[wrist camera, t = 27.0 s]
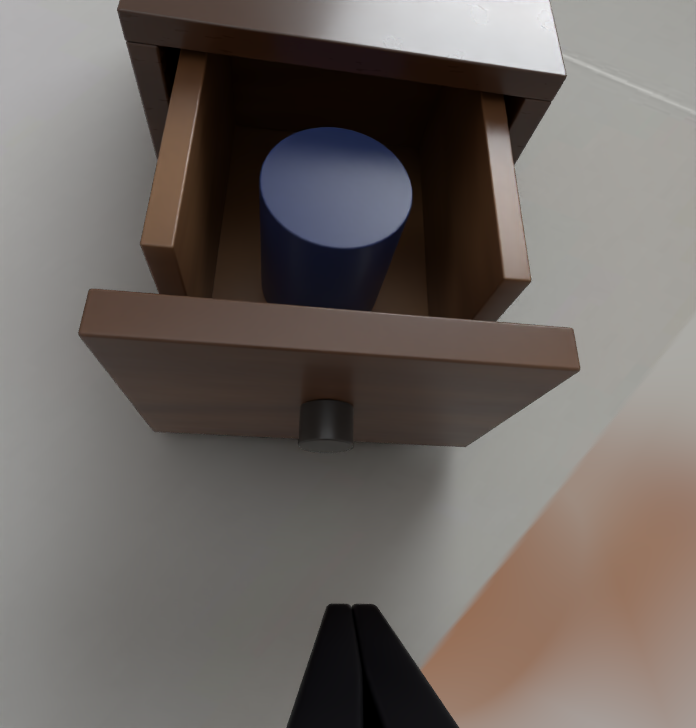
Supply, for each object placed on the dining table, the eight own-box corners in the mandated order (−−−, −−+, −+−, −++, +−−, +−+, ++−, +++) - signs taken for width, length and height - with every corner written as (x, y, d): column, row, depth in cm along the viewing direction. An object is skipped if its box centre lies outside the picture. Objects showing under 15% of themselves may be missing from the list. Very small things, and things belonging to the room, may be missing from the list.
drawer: (468, 479, 19) (590, 418, 12) (147, 466, 18) (62, 387, 10) (443, 158, 25) (513, -11, 18) (203, 128, 24) (175, -68, 17)
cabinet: (456, 263, 24) (567, 76, 15) (176, 236, 22) (116, 9, 13) (437, 39, 30) (508, -188, 21) (217, 5, 29) (194, -256, 20)
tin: (400, 293, 20) (443, 200, 15) (312, 357, 19) (328, 276, 14) (327, 216, 21) (345, 105, 16) (237, 271, 20) (226, 166, 15)
